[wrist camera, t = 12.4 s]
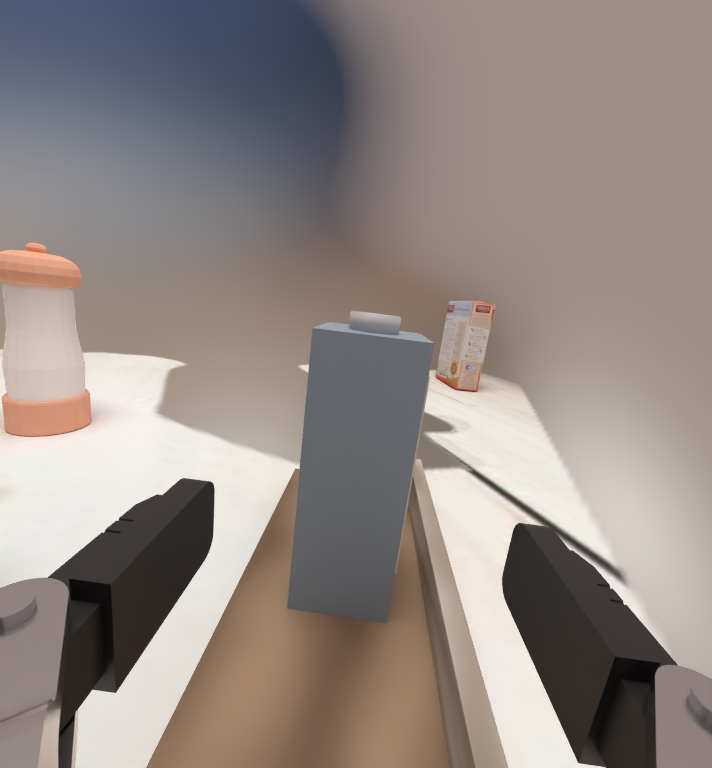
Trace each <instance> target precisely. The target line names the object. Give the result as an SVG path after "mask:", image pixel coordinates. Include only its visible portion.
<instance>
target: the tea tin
mask: <svg viewBox="0 0 712 768" xmlns="http://www.w3.org/2000/svg"><path fill="white" fill-rule="evenodd" d="M400 322H401V317H396V316H390V315H382V314H375V313H366V312H356V311H351V314H350V323H349V325H346V324H339V323H330V322H329V323H326V324H323V325H320V326H317V327H314V328H313V329H312V340H311V351H310V363H309V373H308V384H307V395H306V406H305V417H304V428H303V440H302V451H301V461H300V472H299V483H298V494H297V505H296V516H295V527H294V538H293V549H292V560H291V571H290V582H289V593H288V604H287V608H288V609H295V610H301V611H308V612H314V613H321V614H327V615H334V616H340V617H347V618H353V619H360V620H366V621H373V622H379V623H387V617H388V611H389V605H390V599H391V593H392V587H393V581H394V576H395V574H396V572H397V566H398V560H399V554H400V548H401V543H402V537H403V531H404V525H405V519H406V513H407V507H408V502H409V496H410V490H411V484H412V478H413V472H414V467H415V461H416V454H417V449H418V443H419V437H420V431H421V426H422V420H423V413H424V408H425V402H426V397H427V391H428V385H429V379H430V377H429V370H430V364H431V358H432V352H433V347H434V343H433V342H432V341H430V340H428V339H427V338H426V337H424V336H422V335H421V334H419V333H410V332H403V331H399V328H400Z"/></svg>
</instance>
